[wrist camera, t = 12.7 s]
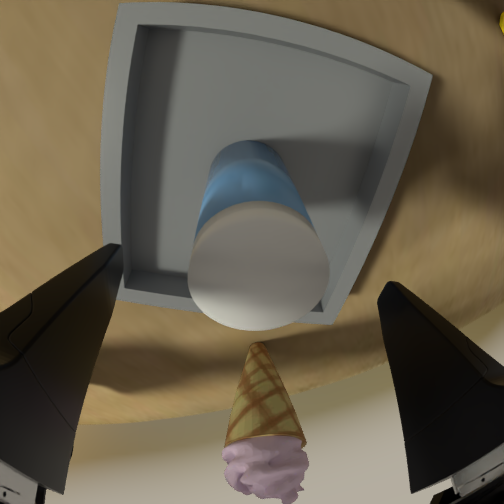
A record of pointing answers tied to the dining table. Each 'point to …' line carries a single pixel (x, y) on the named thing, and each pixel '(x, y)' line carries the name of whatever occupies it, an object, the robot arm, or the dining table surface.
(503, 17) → the watch
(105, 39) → the dining table surface
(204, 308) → the cylinder
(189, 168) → the tray
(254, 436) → the ice cream cone
